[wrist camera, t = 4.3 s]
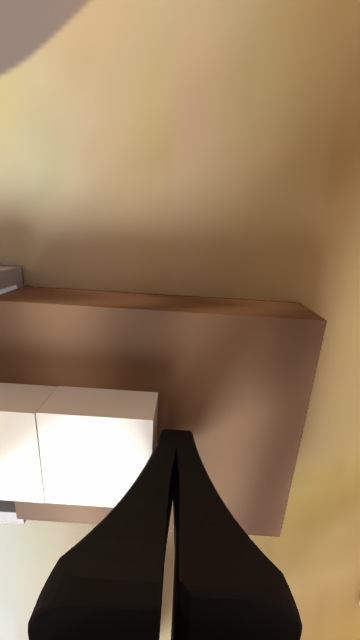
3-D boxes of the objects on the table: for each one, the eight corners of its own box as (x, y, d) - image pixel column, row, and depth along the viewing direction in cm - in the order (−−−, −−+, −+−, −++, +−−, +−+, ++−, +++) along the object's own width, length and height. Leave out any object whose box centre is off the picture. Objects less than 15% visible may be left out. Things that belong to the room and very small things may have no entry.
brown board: (299, 302, 15) (326, 320, 12) (265, 488, 18) (279, 536, 15) (23, 286, 15) (-16, 299, 12) (43, 473, 18) (16, 518, 16)
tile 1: (158, 392, 13) (153, 420, 11) (155, 472, 14) (150, 509, 12) (57, 385, 13) (35, 412, 11) (64, 466, 14) (45, 502, 12)
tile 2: (57, 386, 13) (34, 413, 11) (64, 466, 14) (44, 503, 12) (-42, 379, 13) (-82, 405, 11) (-26, 460, 14) (-59, 495, 13)
